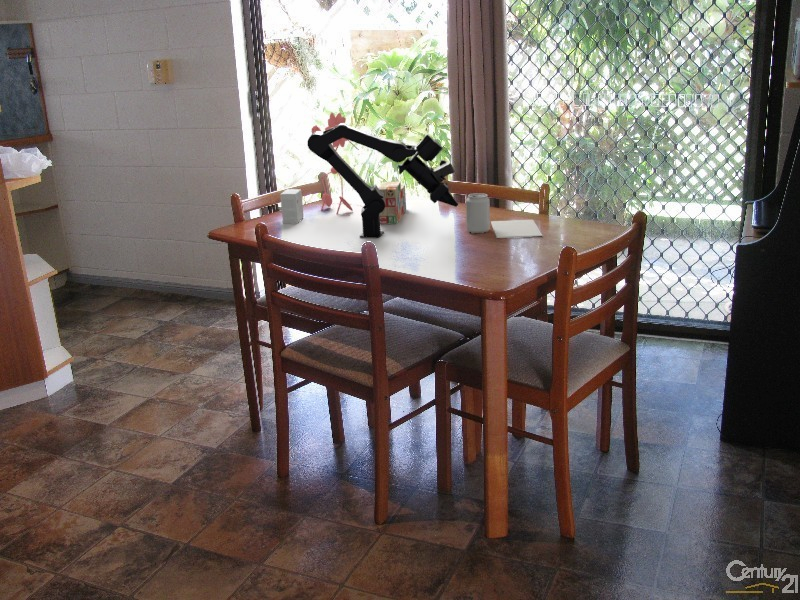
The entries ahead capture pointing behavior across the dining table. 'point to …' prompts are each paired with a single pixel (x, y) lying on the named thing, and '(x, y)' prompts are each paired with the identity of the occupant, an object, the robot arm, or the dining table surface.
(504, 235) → the mat
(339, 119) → the figurine
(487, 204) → the can
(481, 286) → the dining table surface
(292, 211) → the small box
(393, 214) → the stack of blocks
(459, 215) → the dining table surface
